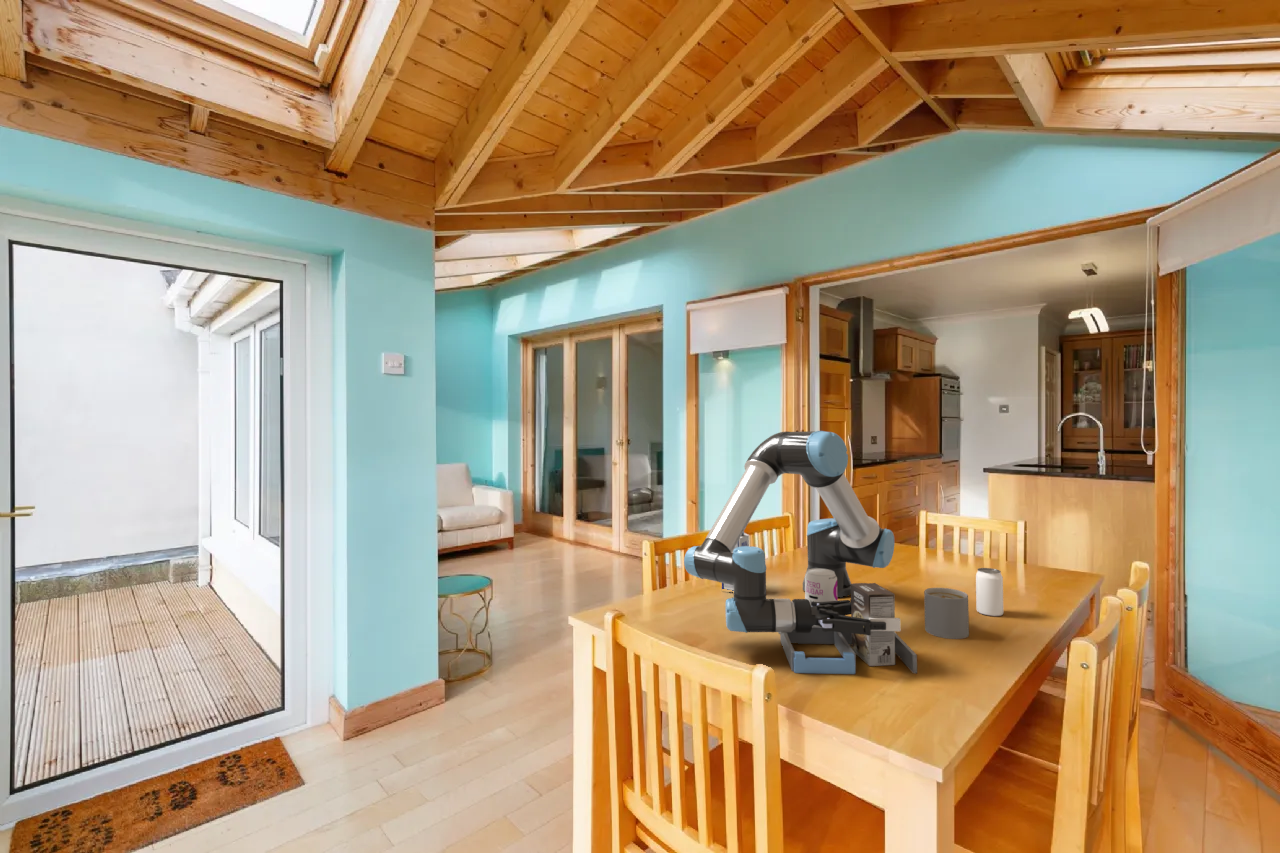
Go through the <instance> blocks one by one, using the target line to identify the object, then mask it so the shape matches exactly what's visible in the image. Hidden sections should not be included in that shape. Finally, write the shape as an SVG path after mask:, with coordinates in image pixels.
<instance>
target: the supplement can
mask: <svg viewBox="0 0 1280 853" xmlns="http://www.w3.org/2000/svg"><path fill="white" fill-rule="evenodd" d="M806 571H807V573H806V572H805V574H806V575H805V574H804V577H805V592H804V599H807V600H809V602H810V605H811V602H827V601H839V598H838V597H837V577H836V575H835V572H834V571H832V570H828V569H820V568H816V569H809V570H807V569H806ZM813 626H816V625H813Z"/></svg>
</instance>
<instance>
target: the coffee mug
mask: <svg viewBox="0 0 1280 853" xmlns="http://www.w3.org/2000/svg"><path fill="white" fill-rule="evenodd" d="M923 593H924V594H923V595H924V601H923V602H924V630H925V631H926V633H928V634H930V635H933V636H934V637H938V638H943V639H950V640H962V639H966V638H968V637H969V635H970V632H969V631H970V628H969V595H968V593H967V592H964V591H962V590H960V589H959V590H958V589H956V588H955V589H954V588H947V587H930V588H926V589H924V592H923Z"/></svg>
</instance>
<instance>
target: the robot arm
mask: <svg viewBox="0 0 1280 853" xmlns="http://www.w3.org/2000/svg"><path fill="white" fill-rule="evenodd" d="M847 452H848V448H847V445H846V443H845V441H844V440H843V438H842V437H841V436H840V435H838V434H837V433H835V432H832V431H825V430H816V431H815V430H814V431H813V430H812V431H811V430H810V431H780V432H776V433H774V434H772V435H770V436H769V437H768V438H766V439H764V440H763V441H762V442H761V443H760V444H759V445H758V446H757V447H756V448H755V449H754V450H753V451H752V452H751V454H750V455H749V456H748V458H747V460H746V462H745V463H744V466H743V467H744V470H745V471H744V472H743V474H742V475H741V477H740V479H739V481H738V483H737V485H736V486H735V488H734V489H733V491H732V493H731V494H730V496H729V498H728V500H727V501H726V503H725V505H724V506H723V508H722V510H721V512H720V513H719V515H718V517H717V518H716V520H715V522H714V524H713V525H712V527H711V528H710V530H709V532H708V533H707V535H706V537H705V539H704V541H703V542H702V543H701V545H697V546H696V545H694V546H692V547H690V548H689V549H688V550H686V552H685V554H684V559H683V564H684V565H683V566H684V569H685V570H686V572H687V573H688V574H689V575H691V576H693V577H696V578H699V579H702V580H709V581H714V582H717V583H721V584H722V583H725V584H729V585H733V588H734V594H733V597H730V598H727V599H726V600H725V625H726V628H727V629H728V631H730V632H739V633H746V634H747V633H778V635H780V634H782V633H783V632H792V631H793V630H794V631H795V632H796V633H810V632H811V630H812V626H813V625H816V626H820V627H822V631H825V632H831V631H834V632H844V633H854V634H863V635H871V631H895V632H901V631H902V630H901V627H902V626H901V618H900V617H895V618H869V619H863V618H857V617H851V598H850V600H849V599H843V600H838V601H827V602H811V605H810V602H809V600H807V599H805V598H793V599H792V600H791V599H790V598H767V564H766V553H765V551H764V550H763V549H762V548H760V547H757V546H750V545H749V546H741V547H737V548H735V546H736V544H737V542H738V541H739V539H740V537H741V535H742V533H743V532H744V533H745V530H746V528H747V526H748V524H749V523H750V521H751V519H752V517H753V515H754V514H755V512H756V510H757V508H758V506H759V505H760V503H761V501H762V499H763V497H764V495H765V494H766V492H767V490H768V488H769V487H770V485H772V484H775V483H776V482H777V480H778V478H779V476H781V475H785V474H789V475H791V474H792V475H800V476H801V477H802V479H803V480H804V482H805V483H806V485H807V486H809V487H811V488H813V489H814V488H815V489H816V490H817V493H818V494H819V496H820V498H821V499H822V501H823V503H824V505H825V506H826V507H827V510H828V511H829V512H830V514H831V515H832V518H821V519H815V520H811V521H809V522H808V524H807V531H806V538H807V539H806V540H807V568H806V572H805V574H804V577H803V581H802V591H803V590H804V591H805V575H806V573H807V570H809V569H816V568H820V569H828V570H832V571H834V572H835V575H836V577H837V597H840V598H844V597H843V596H846V597H849V596H851V595H850V594H851V585H850V584H852V581H851V579H850V576H849V573H848V571H847V564H855V565H860V566H865V567H871V568H874V569H875V568H877V569H878V568H879V569H884V568H886V567H887V566H889V564H890V563H891V561H892V558H893V556H894V551H895V550H894V549H895V535H894V532H893V531H892V530H891V529H887V528H881V526H880V525H879V523H878V521H877V520H876V519H875V518H873V517H872V516H868V513H866V511H865V509H864V507H863V505H862V504H861V502H860V500H859V498H858V497H857V494H856V493H855V491H854V489H853V487H852V486H851V483H850V482H849V481H848V478H847V477H846V475H845V472H846V469H847V467H848V463H849V461H848V460H849V455H848V453H847ZM734 548H735V549H734ZM732 551H733V553H732ZM804 591H803V592H804ZM848 595H849V596H848ZM863 626H864V627H863Z"/></svg>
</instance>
